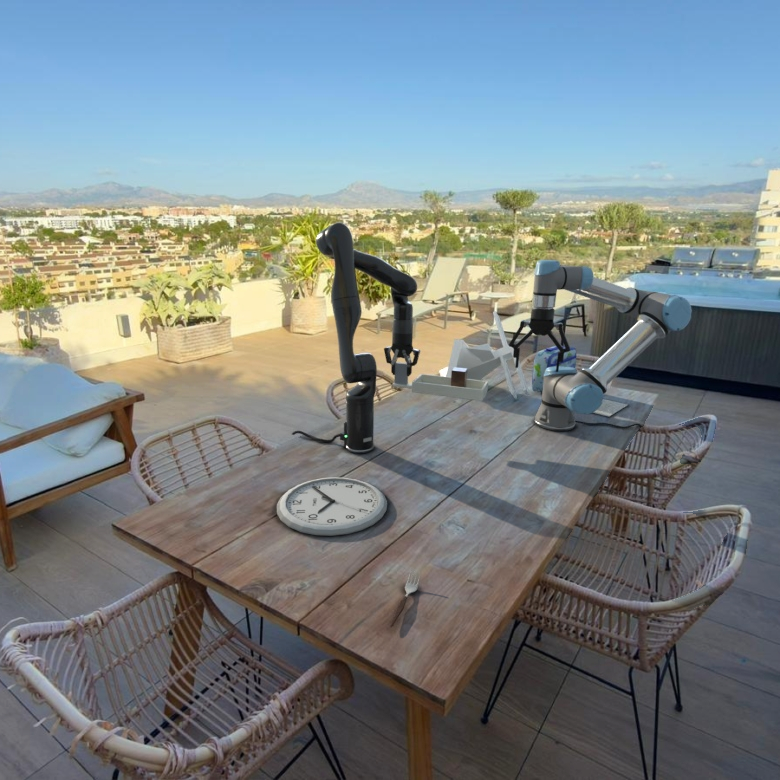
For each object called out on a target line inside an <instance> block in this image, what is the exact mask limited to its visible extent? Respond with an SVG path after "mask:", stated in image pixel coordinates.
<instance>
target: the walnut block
mask: <svg viewBox="0 0 780 780" xmlns="http://www.w3.org/2000/svg"><path fill="white" fill-rule="evenodd" d="M467 370H468V369H467V368H458V367H454V368H453V369H452V372H451V386H456V387H464V388H466V384H467Z"/></svg>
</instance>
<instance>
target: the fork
mask: <svg viewBox="0 0 780 780" xmlns="http://www.w3.org/2000/svg"><path fill="white" fill-rule="evenodd" d="M415 572H416V571H415V570H414V572H413V573H412V569H411V570H410V573H409V576H408V577H407V578H408V579H407V581H406V583H405V586H404V590H405V592H406V594H405V595H404V597H403V598H402V599H401V601H400V602H399V604H398V605H397V608H396V610H395V613H394V616H393V619H392V621H391V624H390V628H392V627H393V626H394V624H395V623H396V621H397V620H398V618H399V616H400V615H401V613H402V612H403V610H404V608H405V605H406V602H407V599H408V597H409V595H410V594H413V593H415V592H417V590H418V588H419V584H420V579H421V575H422V572H420V573H419V572H418V571H417V572H416V575H415ZM418 573H419V576H418ZM411 575H412V577H411ZM414 576H415V578H414ZM417 578H418V579H417ZM413 580H414V581H413ZM416 582H417V583H416Z"/></svg>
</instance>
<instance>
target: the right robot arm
mask: <svg viewBox="0 0 780 780" xmlns="http://www.w3.org/2000/svg"><path fill="white" fill-rule="evenodd" d="M592 269H593V268H591V267H590V266H583V265H581V266H575V265H569V264H568V265H566V264H561V263H560V261H559V260H557V259H556V260H554V259H540V260H538V261H537V262H536V264H535V268H534V274H533V275H534V280H533V289H532V290H533V292H532V297H531V298H532V300H531V307H532V308H530V309H531V310H530V320H529V321H527V320H525V319H522V320H521V321H520V323H519V327H518V329H517V330H516V332H515V334H514V335H513V337H512V338H511V340H510V342H509V343H508V345H509V346H510V347H512V348H513V349H514V352H513V357H514V358H516V366H515V365H514V366H515V369H516V368H518V364H519V362H520V353H521V347H520V346H522V345H523V343H524V342H526V341H527V340H528V339H529V338H530V337H531V336H532V335H535V336H542V337H545V336H548V338H550V340H551V341H552V342H553V344H554V346H557V348H558V349H559V351H558V358H557V367H548V368H547V369H546V370H545V373H544V382H543V391H542V394H541V402H540V405H539V407H538V410H537V411H536V413H535V417H534V424H535V425H536V426H537V427H539V428H542V429H544V430H549V431H556V432H567V431H572V430H574V429H575V428H576V423H577V424H582V425H585V426H599V425H600V426H601V425H604V426H610V427H612V428H613V427H614V428H619V429H629V428H632V427H635V426H638V427H639V428H643V426H642V425H641V424H640V423H636V422H635V423H633V424H630V425H627V426H626V425H625V426H624V425H623V426H622V425H617V424H613V423H608V422H585V421H580V420H577V419H576V418H575V417H576V416H575V414H578V415H583V416H585V415H590V414H594V413H593V412H595V411H596V410H597V409H598V408H599V407H600V406H601V404H602V400H603V399H605V397H604V395H605V394H606V393H607V392H608V385H609V384H611V382H612V381H613V380H614V379H615V378H617V377H618V376H619V375H620V374H621V373H622V372H623V371H624V370H625V369H626V368H627V367H628V366H629V365H630V364H632V362H634V360H636V359H637V358H638V357H639V356H640V355H641V354H642V353H643V352H644V351H645V350H646V349H647V348H648V347H649V346H650V345H652V344H653V342H655V341H656V340H657V339H664V338H666V337H667V335H669V334H670V333H671V332H679V331H682V330H683V329H685V328H686V327H687V326H688V324H689V323H690V321H691V319H692V312H693V311H692V305H691V303H690V302H689V301H688V299H687V298H685V297H683V296H680V295H677V294H666V293H664V292H658V291H651V290H643V289H638V288H635V287H630V286H629V287H623V286H620V285H617V284H615V283H612V282H609V281H607V280H604V279H601V278H598V277H595V276H594V271H593V270H592ZM559 290H561V291H562V290H565V291H567V292H571V293H574V294H576V295H578V296H582V297H585V298H587V299H590V300H594V301H597V302H599V303H602V304H604V305H608V306H611V307H612V308H613V307H614V308H616V309H617V311H618V312H619V313H622V314H624V315H627V316H629V317H631V318H634V319H636V320H637V322H636V323H635V324H634V325H633V326H632V327H631V328H630V329H628V330H627V332H626V333H625V334H623V335H622V337H620V338H619V339H618V340H617V341H616V342H614V344H613V345H612V346H611V347H610V348H609V349H607V351H605V352H604V353H603V354H602V355H601V356H600V357H599V358H598V359H597V360H596V361H595V362H594V363H593V364H592V365H591V366H590V367H589V368H581V369H580V370H579V371H578V369H577V368H576V367H575V368H572V367H560V366H559V362H563V358H564V353H565V352H569V351H570V347H571V346H570V344H569V341H568V339H567V337H566V334H565V331H564V328H563V327H564V325H563V324H564V323H563V322H559V323H555V321H554V318H555V307H556V300H557V293H558V291H559ZM527 326H528V327H529V330H528V332H527V333H525V335H524V336H522V337H521V338H520V339H519V340H518V337H519V336H520V334H521V332H522V331H523V329H525V328H526V327H527ZM554 328H555V329H556V330H557V331H558V333H559V335H560V339H561V341H562V344H563V345H562V344H561V343H560V341H559V340H558V338H557V337H556V336H555V334H554V333H553V331H552V330H553V329H554ZM517 340H518V342H516V341H517ZM515 342H516V343H515ZM562 346H565V348H563V347H562Z"/></svg>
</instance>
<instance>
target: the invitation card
mask: <svg viewBox="0 0 780 780" xmlns="http://www.w3.org/2000/svg"><path fill="white" fill-rule="evenodd" d="M628 406H629V404H627V403H623V402H618V401H614V400H609V399H605V398H604V399H603V400H602V404H601V406H600V407H599V408H598V409H597V410H596V411H595V412H593V413H592V414H596V415H600V416H604V417H608V418H609V417H611V416H613V415H614V414H616V413H617V412H619V411H621V410H623V409H624V408H626V407H628Z"/></svg>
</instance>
